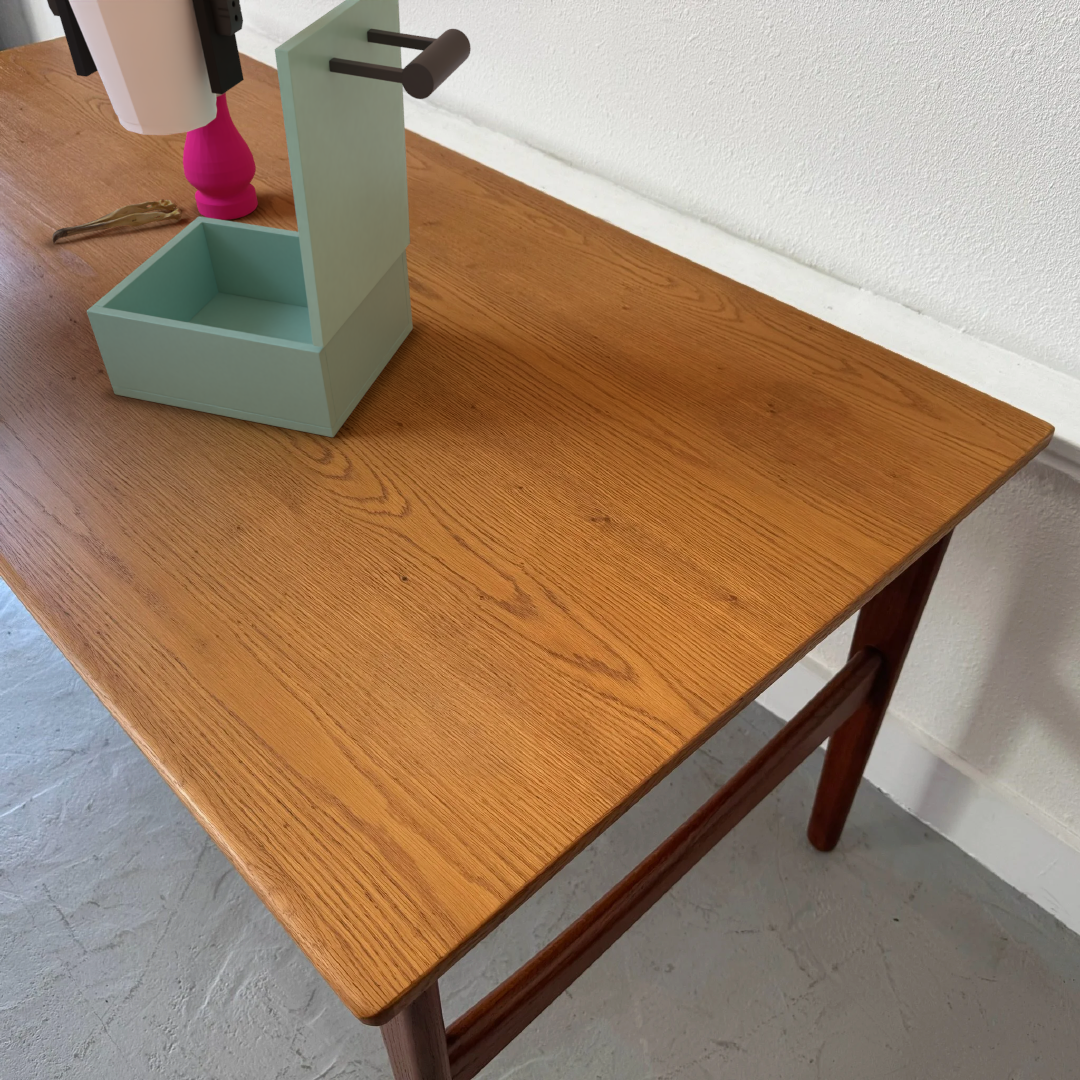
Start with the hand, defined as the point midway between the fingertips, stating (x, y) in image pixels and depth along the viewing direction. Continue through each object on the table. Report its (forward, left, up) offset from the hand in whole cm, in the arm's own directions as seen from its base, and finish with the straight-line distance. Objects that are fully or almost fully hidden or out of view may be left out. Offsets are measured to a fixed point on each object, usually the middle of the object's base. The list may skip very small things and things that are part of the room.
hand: (160, 77), depth 67 cm
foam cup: (0, 0, -3) cm, 3 cm away
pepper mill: (-18, +31, -26) cm, 44 cm away
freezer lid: (+10, +6, -7) cm, 13 cm away
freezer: (0, +6, -26) cm, 26 cm away
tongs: (-26, +23, -26) cm, 43 cm away
